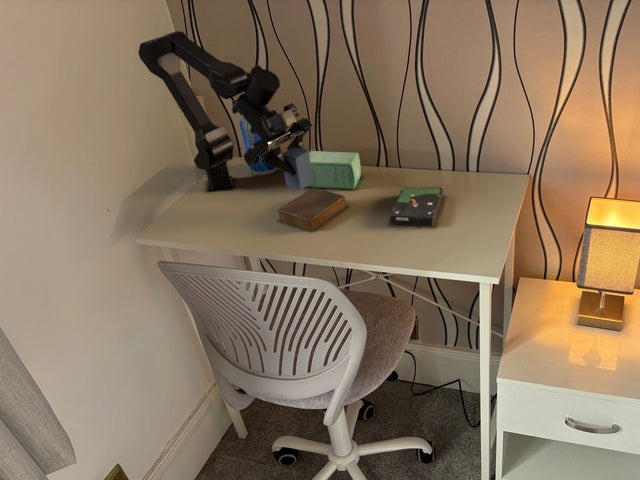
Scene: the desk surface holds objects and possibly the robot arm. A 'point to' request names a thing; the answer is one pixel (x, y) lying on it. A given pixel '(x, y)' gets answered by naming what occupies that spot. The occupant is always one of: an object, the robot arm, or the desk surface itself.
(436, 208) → the disk drive
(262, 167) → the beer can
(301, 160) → the small box
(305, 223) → the brown flat block
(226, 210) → the desk surface
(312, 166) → the box
